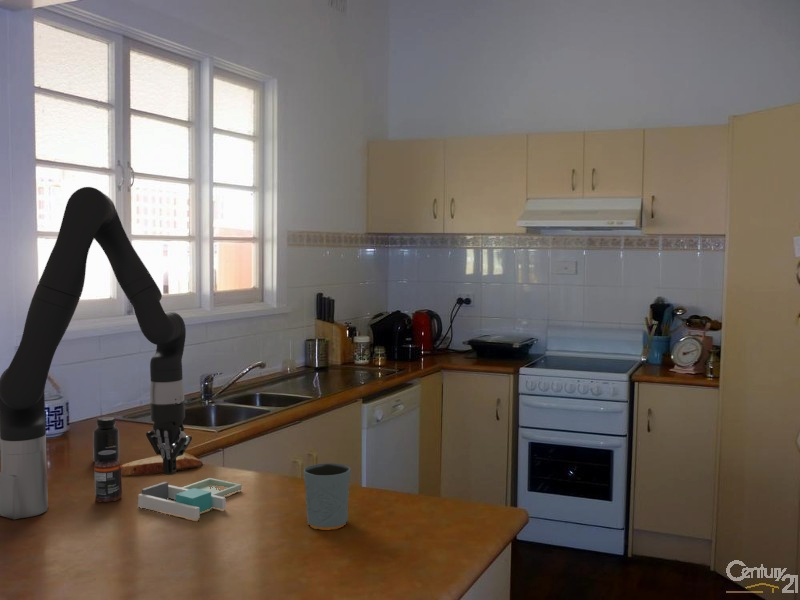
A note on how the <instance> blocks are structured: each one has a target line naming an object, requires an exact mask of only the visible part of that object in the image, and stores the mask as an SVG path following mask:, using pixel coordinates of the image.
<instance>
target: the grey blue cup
mask: <svg viewBox="0 0 800 600" xmlns="http://www.w3.org/2000/svg"><path fill="white" fill-rule="evenodd" d="M351 470H352V469H351V467H350V466H348V465H346V464H343V463H334V462H333V463H332V462H331V463H330V462H328V463H327V462H326V463H317V464H311V465H308V466H306V467H305V468H304V469H303V479H304V485H305V486H304V488H305V504H306V505H305V506H306V519H307V521H308V522H307V521H306V522H307V524H308V523H309V524H311V525H313V526H317V527H323V528H325V527H326V528H327V527H336V526H340V525H343V524H345V523H346V522H347V523H348V520H349V519H348V517H349V509H348V506H349V498H350V496H349V495H350V493H349V491H350V483H351V482H350V481H351V472H352V471H351Z"/></svg>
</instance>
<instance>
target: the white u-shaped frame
mask: <svg viewBox="0 0 800 600" xmlns="http://www.w3.org/2000/svg"><path fill="white" fill-rule="evenodd" d="M187 490H190V489H185V488H181V487H180V486H176V485H173V484H172V485H171V484H169V482H168V481H162V482H160V483H156V484H154V485H151V486H147V487H144V488H141V493H139V494H138V495H137V502H138V503H137V504H138V505H137V506H138V507H140V508H139V509H142V508H146V509H151V510H156V511H162V512H166V513H171V514H175V515H180V516H184V517H188V518H192V519H198V518H200V516H201V515H200V511H199V507H196V506H191V505H187V504H183V503H179V502H176V501H175V500H171V499H167V498H172V499H175V494H178V493H181V492H184V491H187ZM226 498H227V497H226ZM226 498H225V497H221V496H216V495H212V494H211V507H215V508H220V509H224V508H226V509H227V503H226V501H227V499H226ZM166 499H167V500H166ZM138 507H137V508H138ZM146 509H145V510H146ZM200 519H201V518H200Z"/></svg>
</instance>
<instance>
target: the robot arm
mask: <svg viewBox="0 0 800 600" xmlns="http://www.w3.org/2000/svg"><path fill="white" fill-rule="evenodd" d="M94 240H95V241H96V242H97V244H98V245H99V247H100V248H101V249H102V251H103V252H104V254H105V256H106V258H107V259H108V260H107V261H108V262H109V264H110V266H111V267H110V268H111V269H112V271H113V273H114V276H115V279H116V280H117V283H118V284H119V286H120V288H121V290H122V292H123V294H124V295H125V296H126V298H127V299H128V301H129V303H130V304H131V305H132V308H133V311H134V314H135V317H136V318H135V319H136V320H137V324H138V326H139V329H140V330H141V332H142V334H143V336H144V337H145V338H146V339H147V340H148V341H149V342H150V343H152V344H153V345H156V351H155V353H154V355H153V356H152V357H151V359H150V363H149V370H150V371H149V372H150V375H149V376H150V377H149V378H150V387H149V403H150V407H149V408H150V420H151V421H152V423H153V425H152V429H151V431H148V432H145V436H146V438H147V439H148V441H149V444H150V445H151V447H152V449H153V450H154V452H155V454H156V456H161V457H162V458H163V470H164V472H163V473H164V474H165V475H166V476H167V475H168V476H171V475H175V474H176V473H177V471H176V470H177V467H176V458H177V457H178V456H181V455H183V454H184V452H185V453H186V451H187V449H188V447H189V445H190V443H191V442H192V439H193V437H192V435H187V434H186V433H185V426H184V424H183V421H184V419H185V418H186V406H185V403H186V402H185V386H184V380H183V378H184V377H183V362H182V361H183V356H184V355H183V354H184V350H185V344H186V334H187V332H186V331H187V330H186V325H185V321H184V319H183V317H182V316H181V315H180V314H178V312H175V311H164V309H163V306H162V303H161V302H160V301H161V299H162V297H163V294H162V291H161V290H160V288H159V286H158V285H157V282H156V281H155V280H154V278H153V276H152V275H151V273H150V272H149V269H148V268H147V267H146V265H145V264H144V262H143V261H142V259H141V258H140V256H139V254H138V253H137V251H136V250H135V249H134V248H135V247H134V246H133V244H132V242H131V241H130V239H129V237H128V235H127V233H126V230H125V228H124V226H123V224H122V221H121V219H120V216H119V213H118V211H117V208H116V205H115V204H114V201H113V200H112V199H111V198H110V197H109V196H108V195H107V194H105V193H104V192H103V191H101V190H99V189H98V188H95V187H92V186H83V187H80V188H78V189H77V190H75V191H74V192H72V194H71V195H70V197H69V198H68V199H67V202H66V205H65V209H64V213H63V216H62V219H61V224H60V227H59V230H58V235H57V237H56V240H55V244H54V245H53V247H52V251H51V252H50V255H49V257H48V259H47V262H46V264H45V267H44V269H43V271H42V273H41V276H40V278H39V280H38V283H37V285H36V288H35V290H34V293H33V296H32V298H31V300H30V304H29V308H28V312H27V314H26V319H25V321H24V322H25V323H24V326H23V327H24V328H23V331H22V336H21V340H20V343H19V345H18V348H17V350H16V352H15V353H14V355H13V358H12V360H11V362H10V363H9V366H8V368H6V369H5V370H4V371H3V372H2V373H1V375H0V517H5V518H7V519H10V520H17V519H18V520H19V519H24V518H30V517H31V518H32V517H35V516H39V515H41V514H42V515H43V514H44V513H45V512H47V511H48V509H49V506H48V505H49V504H48V503H49V501H48V473H47V472H48V468H47V467H48V465H47V461H48V460H47V435H46V434H47V433H46V431H47V430H46V429H47V427H46V404H45V402H46V401H45V399H46V398H45V396H46V395H45V389H46V384H47V379H48V375H49V372H50V369H51V364H52V362H53V360H54V356H55V353H56V351H57V349H58V347H59V345H60V343H61V341H62V340H63V337H64V336H65V333H66V332H67V329H68V327H69V326H70V323H71V320H72V319H73V316H74V314H75V312H76V309H77V306H78V304H79V301H80V300H81V296H82V294H83V290H84V285H85V280H86V272H87V271H86V270H87V263H88V262H87V260H88V255H89V252H90V248H91V246H92V244H93V242H94Z"/></svg>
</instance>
